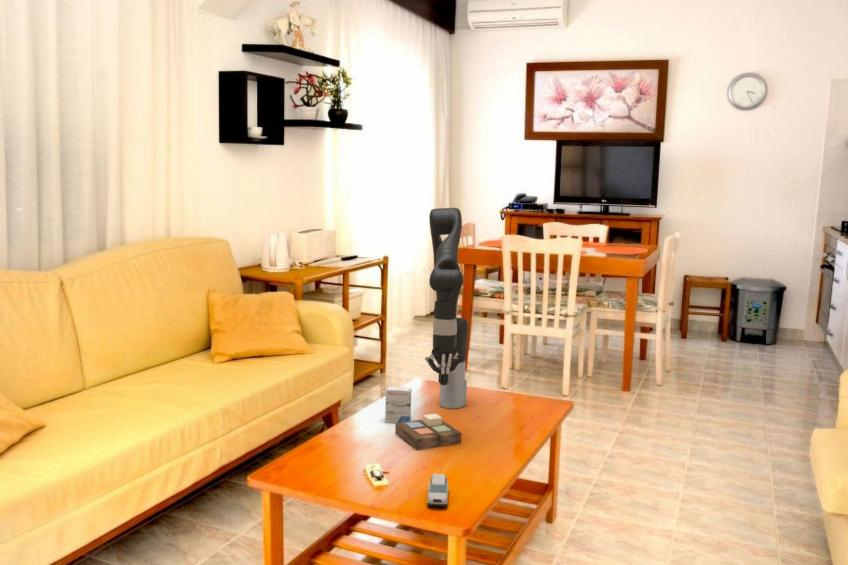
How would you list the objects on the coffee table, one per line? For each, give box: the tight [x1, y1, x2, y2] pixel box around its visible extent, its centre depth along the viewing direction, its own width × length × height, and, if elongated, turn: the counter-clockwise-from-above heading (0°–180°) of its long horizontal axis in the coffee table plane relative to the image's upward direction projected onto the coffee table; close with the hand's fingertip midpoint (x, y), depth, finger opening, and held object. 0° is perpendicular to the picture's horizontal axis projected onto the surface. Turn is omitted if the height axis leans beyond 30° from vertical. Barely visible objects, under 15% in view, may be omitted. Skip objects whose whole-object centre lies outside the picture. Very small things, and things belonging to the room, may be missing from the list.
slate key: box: [406, 422, 424, 430], centre depth 247 cm, size 5×5×2 cm
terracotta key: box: [414, 428, 433, 436], centre depth 241 cm, size 5×5×2 cm
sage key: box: [432, 425, 451, 434], centre depth 244 cm, size 5×5×2 cm
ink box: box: [384, 386, 412, 424], centre depth 261 cm, size 8×5×12 cm, turn 84°
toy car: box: [426, 473, 450, 508], centre depth 201 cm, size 6×13×5 cm, turn 177°
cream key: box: [422, 413, 443, 427], centre depth 249 cm, size 5×5×2 cm
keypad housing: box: [394, 419, 463, 451], centre depth 246 cm, size 16×16×4 cm
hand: (443, 384), depth 242 cm, fingers closed
